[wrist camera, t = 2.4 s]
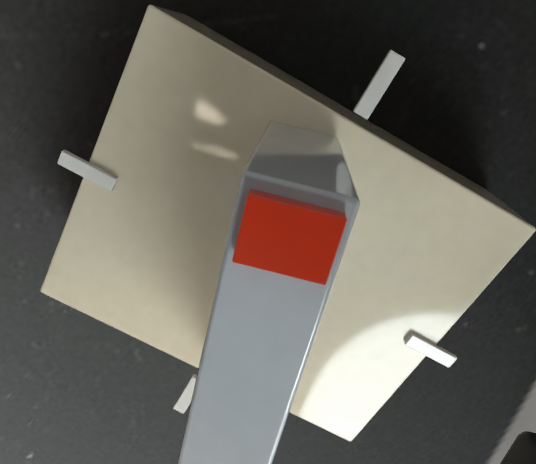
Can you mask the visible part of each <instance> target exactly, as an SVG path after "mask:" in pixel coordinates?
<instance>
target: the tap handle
mask: <svg viewBox="0 0 536 464" xmlns="http://www.w3.org/2000/svg"><path fill="white" fill-rule="evenodd" d="M359 207H360V200H359V197H358V194H357V191H356V188H355V185H354V182H353V179H352V176H351V173H350V171H349V168H348V165H347V162H346V159H345V156H344V153H343V150H342V147H341V144H340V142H339V139H338V138H337V137H336V136H332V135H328V134H324V133H320V132H316V131H312V130H308V129H304V128H301V127H297V126H293V125H289V124H285V123H281V122H277V121H273V120H272V121H270V122H269V123H268V125H267V127H266V129H265V131H264V132H263V134H262V136H261V138H260V140H259V142H258V144H257V146H256V148H255V149H254V151H253V153H252V155H251V157H250V159H249V161H248V163H247V165H246V166H245V168H244V170H243V172H242V174H241V178H240V182H239V187H238V191H237V196H236V200H235V205H234V210H233V214H232V219H231V223H230V228H229V232H228V237H227V241H226V246H225V250H224V255H223V259H222V264H221V268H220V273H219V278H218V282H217V287H216V291H215V296H214V300H213V305H212V309H211V314H210V318H209V323H208V327H207V332H206V336H205V341H204V346H203V350H202V355H201V359H200V364H199V368H198V373H197V377H196V382H195V386H194V391H193V395H192V400H191V405H190V409H189V414H188V418H187V423H186V427H185V432H184V436H183V441H182V445H181V450H180V454H179V459H178V463H177V464H272V462H273V459H274V456H275V453H276V450H277V447H278V444H279V441H280V438H281V435H282V433H283V430H284V427H285V424H286V421H287V418H288V415H289V412H290V409H291V406H292V403H293V400H294V397H295V394H296V391H297V389H298V386H299V383H300V380H301V377H302V374H303V371H304V368H305V365H306V362H307V359H308V356H309V353H310V350H311V347H312V345H313V342H314V339H315V336H316V333H317V330H318V327H319V324H320V321H321V318H322V315H323V312H324V309H325V306H326V303H327V301H328V298H329V295H330V292H331V289H332V286H333V283H334V280H335V277H336V274H337V271H338V268H339V265H340V262H341V259H342V257H343V254H344V251H345V248H346V245H347V242H348V239H349V236H350V233H351V230H352V227H353V224H354V221H355V218H356V215H357V212H358V210H359Z"/></svg>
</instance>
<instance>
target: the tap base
mask: <svg viewBox="0 0 536 464" xmlns="http://www.w3.org/2000/svg"><path fill="white" fill-rule="evenodd" d="M404 61H405V58H404V57H402V56H401V55H399V54H397V53H396V52H394V51H393V50H389V52H388V53H387V55H386V57H385V58H384V60H383V62H382V63H381V65H380V67H379V68H378V70H377V71H376V73H375V75H374V76H373V78H372V80H371V81H370V83H369V85H368V86H367V88H366V90H365V91H364V93H363V95H362V96H361V98H360V100H359V101H358V103H357V104H356V106H355V108H354V109H353V111H354V112H355V113H354V112H352V111H351V110H349V109H347V108H345V107H344V106H342V105H340V104H339V103H337V102H335V101H333V100H332V99H330V98H328V97H327V96H325V95H323V94H321V93H320V92H318V91H316V90H315V89H313V88H311V87H309V86H308V85H306V84H304V83H303V82H301V81H299V80H297V79H296V78H294V77H292V76H291V75H289V74H287V73H285V72H284V71H282V70H280V69H279V68H277V67H275V66H273V65H272V64H270V63H268V62H267V61H265V60H263V59H261V58H260V57H258V56H256V55H255V54H253V53H251V52H249V51H248V50H246V49H244V48H243V47H241V46H239V45H237V44H236V43H234V42H232V41H231V40H229V39H227V38H225V37H224V36H222V35H220V34H219V33H217V32H215V31H213V30H212V29H210V28H208V27H207V26H205V25H203V24H201V23H200V22H198V21H196V20H195V19H193V18H191V17H189V16H188V15H185V14H182V13H178V12H175V11H171V10H168V9H164V8H161V7H157V6H154V5H149V6H148V7H147V10H146V13H145V15H144V18H143V21H142V23H141V26H140V29H139V31H138V34H137V36H136V39H135V42H134V44H133V47H132V50H131V52H130V55H129V58H128V60H127V63H126V66H125V68H124V71H123V73H122V76H121V79H120V81H119V84H118V87H117V89H116V92H115V95H114V97H113V100H112V103H111V105H110V108H109V110H108V113H107V116H106V118H105V121H104V124H103V126H102V129H101V132H100V134H99V137H98V140H97V142H96V145H95V147H94V150H93V153H92V155H91V158H90V161H89V162H88V161H86V160H84V159H82V158H80V157H78V156H76V155H74V154H72V153H70V152H69V151H67V150H63V151H61V154H60V157H59V160H58V163H57V164H59V165H61V166H63V167H65V168H67V169H69V170H70V171H72V172H74V173H76V174H78V175H80V176H82V177H83V179H82V182H81V184H80V187H79V190H78V192H77V195H76V198H75V200H74V203H73V206H72V208H71V211H70V214H69V216H68V219H67V221H66V224H65V227H64V229H63V232H62V235H61V237H60V240H59V243H58V245H57V248H56V251H55V253H54V256H53V258H52V261H51V264H50V266H49V269H48V272H47V274H46V277H45V280H44V282H43V285H42V288H41V292H42V293H44V294H46V295H48V296H50V297H52V298H54V299H56V300H58V301H60V302H62V303H64V304H66V305H68V306H71V307H73V308H75V309H77V310H79V311H81V312H83V313H85V314H87V315H89V316H91V317H93V318H95V319H97V320H99V321H102V322H104V323H106V324H108V325H110V326H112V327H114V328H116V329H118V330H120V331H122V332H124V333H126V334H128V335H131V336H133V337H135V338H137V339H139V340H141V341H143V342H145V343H147V344H149V345H151V346H153V347H155V348H157V349H159V350H162V351H164V352H166V353H168V354H170V355H172V356H174V357H176V358H178V359H180V360H182V361H184V362H186V363H188V364H191V365H193V366H195V367H197V368H199V364H200V359H201V355H202V350H203V346H204V341H205V336H206V332H207V327H208V323H209V318H210V314H211V309H212V305H213V300H214V296H215V291H216V287H217V282H218V278H219V273H220V268H221V264H222V259H223V255H224V250H225V246H226V241H227V237H228V232H229V228H230V223H231V219H232V214H233V210H234V205H235V200H236V196H237V191H238V187H239V182H240V178H241V174H242V172H243V170H244V168H245V166H246V165H247V163H248V161H249V159H250V157H251V155H252V153H253V151H254V149H255V148H256V146H257V144H258V142H259V140H260V138H261V136H262V134H263V132H264V131H265V129H266V127H267V125H268V123H269V122H270V121H272V120H273V121H277V122H281V123H285V124H289V125H293V126H297V127H301V128H304V129H308V130H312V131H316V132H320V133H324V134H328V135H332V136H336V137H337V138H338V139H339V142H340V144H341V147H342V150H343V153H344V156H345V159H346V162H347V165H348V168H349V171H350V173H351V176H352V179H353V182H354V185H355V188H356V191H357V194H358V197H359V200H360V207H359V210H358V212H357V215H356V218H355V221H354V224H353V227H352V230H351V233H350V236H349V239H348V242H347V245H346V248H345V251H344V254H343V257H342V259H341V262H340V265H339V268H338V271H337V274H336V277H335V280H334V283H333V286H332V289H331V292H330V295H329V298H328V301H327V303H326V306H325V309H324V312H323V315H322V318H321V321H320V324H319V327H318V330H317V333H316V336H315V339H314V342H313V345H312V347H311V350H310V353H309V356H308V359H307V362H306V365H305V368H304V371H303V374H302V377H301V380H300V383H299V386H298V389H297V391H296V394H295V397H294V400H293V403H292V406H291V409H290V413H292V414H294V415H296V416H298V417H300V418H302V419H304V420H306V421H308V422H311V423H313V424H315V425H317V426H319V427H321V428H323V429H325V430H327V431H329V432H331V433H333V434H335V435H337V436H339V437H342V438H344V439H346V440H348V441H352V440H353V439H354V438H355V437H356V436H357V434H358V433H359V432H360V431H361V430H362V429H363V428H364V426H365V425H366V424H367V423H368V422H369V421H370V420H371V418H372V417H373V416H374V415H375V414H376V413H377V412H378V410H379V409H380V408H381V407H382V406H383V405H384V404H385V402H386V401H387V400H388V399H389V398H390V397H391V396H392V394H393V393H394V392H395V391H396V390H397V389H398V388H399V386H400V385H401V384H402V383H403V382H404V381H405V380H406V378H407V377H408V376H409V375H410V374H411V373H412V372H413V370H414V369H415V368H416V367H417V366H418V365H419V364H420V362H421V361H422V360H423V359H424V358H425V357H426V356H427V357H429V358H431V359H433V360H435V361H437V362H439V363H441V364H443V365H445V366H446V367H448V368H449V367H450V366H451V365H452V364H453V363H454V362H455V361H456V360H457V357H456V355H454V354H452V353H451V352H449V351H447V350H445V349H443V348H441V347H439V346H437V345H436V344H437V343H438V342H439V341H440V339H441V338H442V337H443V336H444V335H445V334H446V333H447V331H448V330H449V329H450V328H451V327H452V326H453V325H454V323H455V322H456V321H457V320H458V319H459V318H460V317H461V315H462V314H463V313H464V312H465V311H466V310H467V309H468V307H469V306H470V305H471V304H472V303H473V302H474V301H475V299H476V298H477V297H478V296H479V295H480V294H481V293H482V291H483V290H484V289H485V288H486V287H487V286H488V285H489V283H490V282H491V281H492V280H493V279H494V278H495V277H496V275H497V274H498V273H499V272H500V271H501V270H502V269H503V267H504V266H505V265H506V264H507V263H508V262H509V261H510V259H511V258H512V257H513V256H514V255H515V254H516V253H517V251H518V250H519V249H520V248H521V247H522V246H523V245H524V243H525V242H526V241H527V240H528V239H529V238H530V237H531V235H532V234H533V233H534V232H535V231H536V228H535V227H534V226H532V225H531V224H530V223H529V222H527V221H526V220H525V219H524V218H522V217H521V216H520V215H518V214H517V213H516V212H515V211H513V210H512V209H511V208H510V207H508V206H507V205H506V204H504V203H503V202H502V201H501V200H499V199H498V198H497V197H496V196H494V195H493V194H492V193H490V192H489V191H488V190H486V189H484V188H482V187H481V186H479V185H477V184H476V183H474V182H472V181H471V180H469V179H467V178H465V177H464V176H462V175H460V174H459V173H457V172H455V171H453V170H452V169H450V168H448V167H447V166H445V165H443V164H441V163H440V162H438V161H436V160H435V159H433V158H431V157H429V156H428V155H426V154H424V153H423V152H421V151H419V150H417V149H416V148H414V147H412V146H411V145H409V144H407V143H405V142H404V141H402V140H400V139H399V138H397V137H395V136H393V135H392V134H390V133H388V132H387V131H385V130H383V129H381V128H380V127H378V126H376V125H375V124H373V123H371V122H369V121H368V120H366V119H368V118H369V117H370V115H371V113H372V112H373V110H374V109H375V107H376V105H377V104H378V102H379V101H380V99H381V97H382V96H383V94H384V93H385V91H386V89H387V88H388V86H389V85H390V83H391V81H392V80H393V78H394V77H395V75H396V73H397V72H398V70H399V69H400V67H401V65H402V64H403V62H404ZM356 113H357V114H358V115H357V114H356ZM359 115H360V116H359ZM361 116H362V117H361ZM364 118H365V119H364ZM196 377H197V375H196V374H193V375H192V377H191V378H190V380H189V382H188V383H187V385H186V387H185V388H184V390H183V392H182V393H181V395H180V396H179V398H178V400H177V401H176V403H175V405H174V407H173V409H175V410H177V411H179V412H181V413H184V412H185V411H186V409H187V408H188V406H189V405H190V403H191V400H192V395H193V391H194V386H195V382H196Z"/></svg>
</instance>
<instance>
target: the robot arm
mask: <svg viewBox="0 0 536 464" xmlns="http://www.w3.org/2000/svg"><path fill="white" fill-rule="evenodd" d="M501 464H536V433H532V432H522V433H521V434H519V435H518V437H517V438H516V440H515V441H514V443H513V444H512V446H511V447H510V449H509V451H508V452H507V454H506V455H505V457H504V459H503V460H502V462H501Z"/></svg>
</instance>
